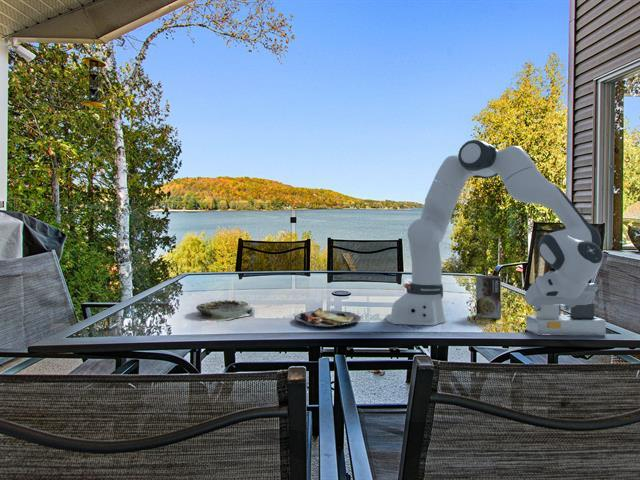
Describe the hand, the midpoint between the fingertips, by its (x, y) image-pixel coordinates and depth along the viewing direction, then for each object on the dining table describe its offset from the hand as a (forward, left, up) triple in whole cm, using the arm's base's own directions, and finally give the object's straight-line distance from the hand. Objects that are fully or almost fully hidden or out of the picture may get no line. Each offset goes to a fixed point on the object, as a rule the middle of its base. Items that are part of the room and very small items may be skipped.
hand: (550, 309), depth 141 cm
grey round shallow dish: (-118, +34, -9) cm, 123 cm away
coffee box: (-11, +26, -8) cm, 29 cm away
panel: (0, +1, -7) cm, 7 cm away
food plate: (-75, +18, -9) cm, 77 cm away
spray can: (+11, +20, -8) cm, 25 cm away
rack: (+5, +1, -8) cm, 10 cm away
